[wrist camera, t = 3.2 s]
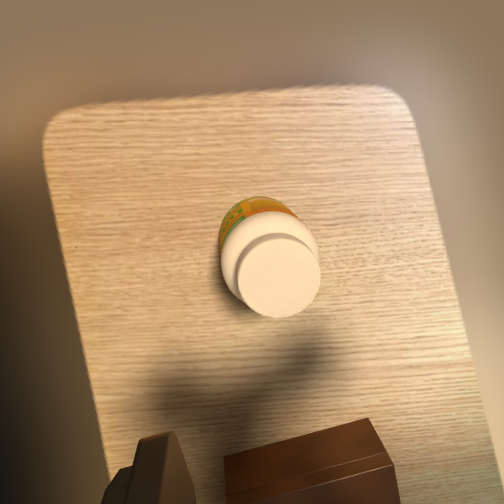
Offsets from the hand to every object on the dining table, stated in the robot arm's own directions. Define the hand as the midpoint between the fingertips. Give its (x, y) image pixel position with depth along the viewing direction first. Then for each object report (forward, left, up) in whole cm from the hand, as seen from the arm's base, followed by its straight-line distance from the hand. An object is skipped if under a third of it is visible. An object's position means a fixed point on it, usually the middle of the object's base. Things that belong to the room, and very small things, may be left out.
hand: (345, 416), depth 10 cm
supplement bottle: (0, 0, -20) cm, 20 cm away
